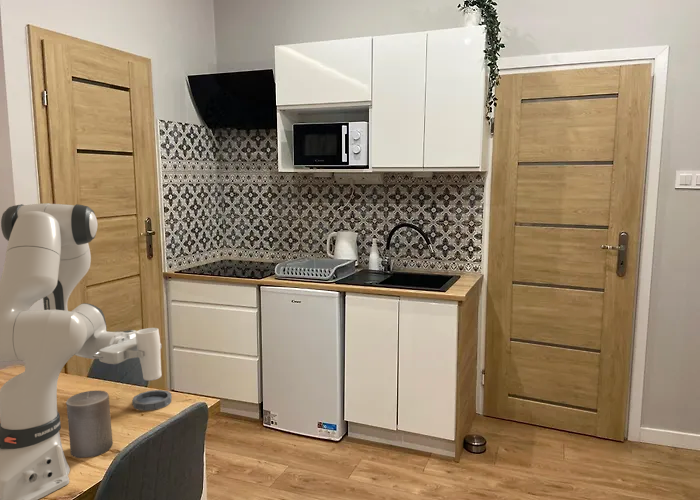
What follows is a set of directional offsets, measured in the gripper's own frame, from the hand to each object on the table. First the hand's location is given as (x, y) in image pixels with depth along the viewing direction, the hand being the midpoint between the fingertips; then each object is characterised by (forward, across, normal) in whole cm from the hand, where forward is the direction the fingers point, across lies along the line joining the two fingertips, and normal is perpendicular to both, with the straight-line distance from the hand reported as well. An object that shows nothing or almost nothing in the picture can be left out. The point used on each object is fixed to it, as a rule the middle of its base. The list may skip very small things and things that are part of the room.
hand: (151, 350), depth 162 cm
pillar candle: (+3, -29, +17) cm, 34 cm away
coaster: (-1, 0, +17) cm, 17 cm away
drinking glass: (0, 0, +9) cm, 9 cm away
